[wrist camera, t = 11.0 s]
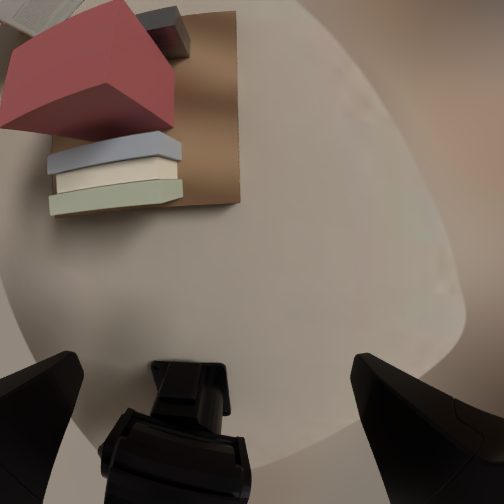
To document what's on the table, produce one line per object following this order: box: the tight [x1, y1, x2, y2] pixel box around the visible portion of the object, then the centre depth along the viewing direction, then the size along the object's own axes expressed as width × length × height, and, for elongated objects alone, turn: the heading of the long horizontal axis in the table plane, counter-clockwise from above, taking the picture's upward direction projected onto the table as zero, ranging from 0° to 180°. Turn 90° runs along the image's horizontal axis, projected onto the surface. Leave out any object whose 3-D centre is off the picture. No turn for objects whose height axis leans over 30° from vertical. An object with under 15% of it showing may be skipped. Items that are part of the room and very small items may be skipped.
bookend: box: [135, 6, 191, 61], centre depth 11 cm, size 2×8×4 cm, turn 92°
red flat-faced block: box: [0, 0, 175, 142], centre depth 10 cm, size 4×6×9 cm, turn 92°
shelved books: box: [47, 131, 183, 216], centre depth 14 cm, size 3×7×4 cm, turn 92°
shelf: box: [52, 11, 240, 218], centre depth 15 cm, size 14×14×2 cm
